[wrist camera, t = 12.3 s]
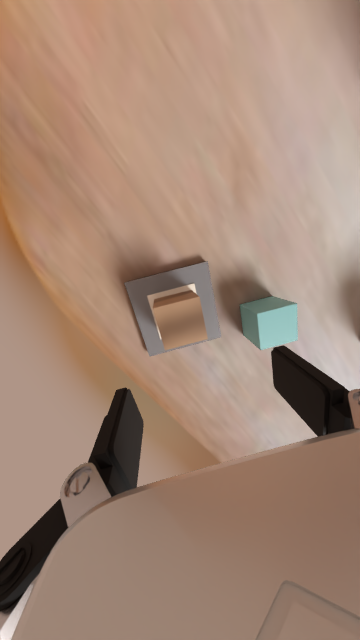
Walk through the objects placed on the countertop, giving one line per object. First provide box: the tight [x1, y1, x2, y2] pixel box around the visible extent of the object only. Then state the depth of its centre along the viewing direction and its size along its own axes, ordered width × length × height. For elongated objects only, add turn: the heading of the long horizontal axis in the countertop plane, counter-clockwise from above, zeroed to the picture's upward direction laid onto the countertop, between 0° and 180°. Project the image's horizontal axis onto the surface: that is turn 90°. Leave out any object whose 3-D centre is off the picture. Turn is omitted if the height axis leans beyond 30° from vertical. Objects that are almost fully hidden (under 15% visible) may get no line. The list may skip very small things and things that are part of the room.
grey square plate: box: [124, 261, 221, 356], centre depth 29 cm, size 13×13×1 cm
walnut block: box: [153, 290, 208, 350], centre depth 26 cm, size 6×6×6 cm
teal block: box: [240, 296, 298, 350], centre depth 29 cm, size 6×6×6 cm
